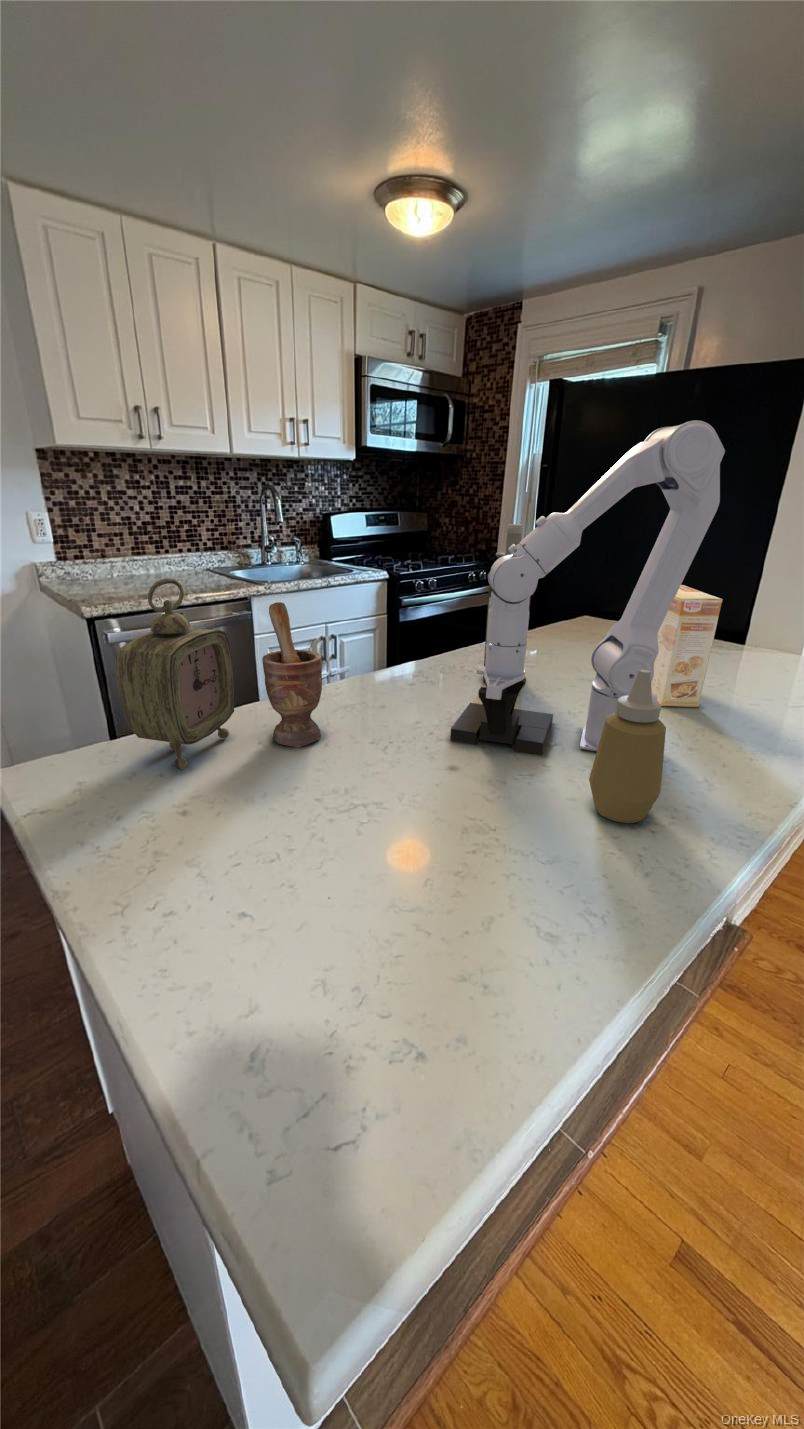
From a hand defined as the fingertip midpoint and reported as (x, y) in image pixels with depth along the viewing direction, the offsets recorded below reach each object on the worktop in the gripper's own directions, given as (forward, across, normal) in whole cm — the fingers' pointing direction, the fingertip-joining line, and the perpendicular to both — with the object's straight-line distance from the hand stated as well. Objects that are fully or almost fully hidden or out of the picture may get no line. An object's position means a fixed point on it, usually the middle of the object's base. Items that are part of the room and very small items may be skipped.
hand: (499, 727), depth 87 cm
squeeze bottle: (+2, +15, +18) cm, 23 cm away
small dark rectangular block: (+1, 0, 0) cm, 1 cm away
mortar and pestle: (+2, +10, -31) cm, 33 cm away
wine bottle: (+2, -28, -5) cm, 29 cm away
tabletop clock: (+2, +21, -42) cm, 47 cm away
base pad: (+2, -3, 0) cm, 4 cm away
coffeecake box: (+2, -33, +25) cm, 42 cm away
